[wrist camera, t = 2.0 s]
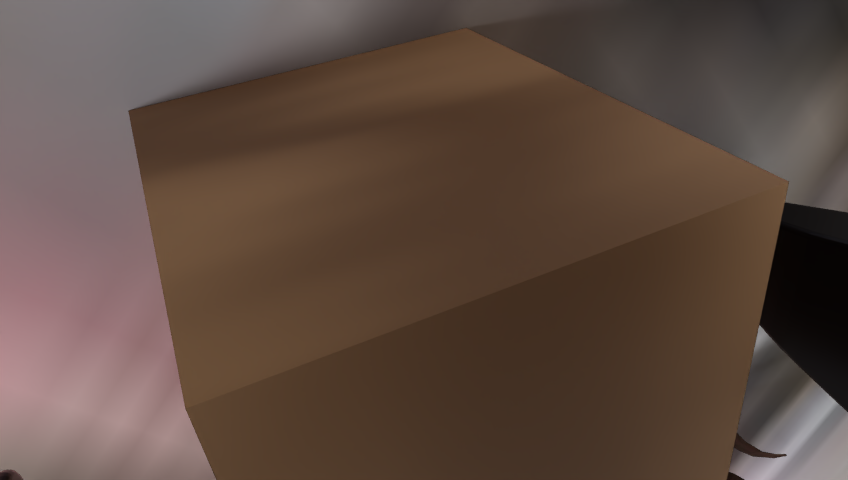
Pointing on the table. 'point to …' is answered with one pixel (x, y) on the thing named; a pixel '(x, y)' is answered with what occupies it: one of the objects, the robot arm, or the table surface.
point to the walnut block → (453, 272)
